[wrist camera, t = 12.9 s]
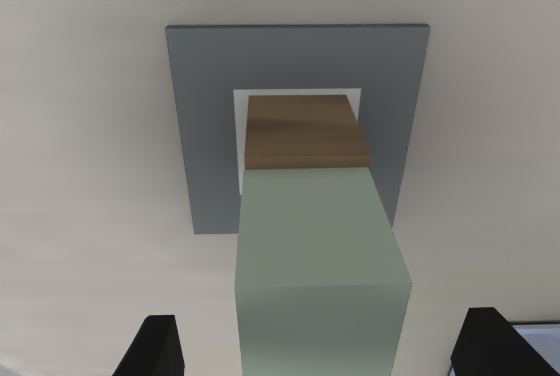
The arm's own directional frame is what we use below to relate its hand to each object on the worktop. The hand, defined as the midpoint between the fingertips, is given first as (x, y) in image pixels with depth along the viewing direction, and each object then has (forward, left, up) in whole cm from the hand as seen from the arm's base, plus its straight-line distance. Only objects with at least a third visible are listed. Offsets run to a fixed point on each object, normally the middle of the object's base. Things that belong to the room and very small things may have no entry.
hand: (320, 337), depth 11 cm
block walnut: (0, 0, -10) cm, 10 cm away
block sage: (0, 0, -5) cm, 5 cm away
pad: (0, 0, -10) cm, 10 cm away
